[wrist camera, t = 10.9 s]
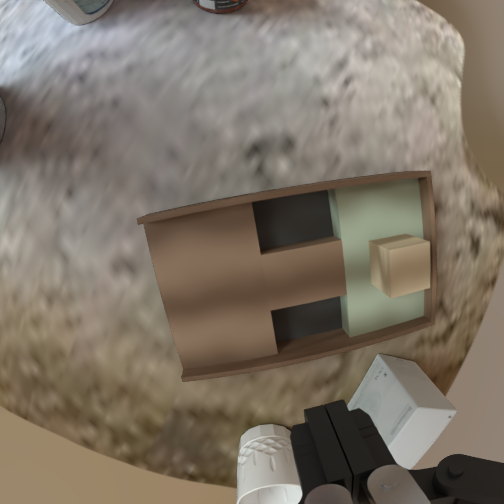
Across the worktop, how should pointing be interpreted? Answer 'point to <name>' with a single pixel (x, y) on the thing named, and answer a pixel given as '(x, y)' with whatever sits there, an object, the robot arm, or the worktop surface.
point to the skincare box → (403, 407)
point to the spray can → (80, 9)
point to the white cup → (267, 467)
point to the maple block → (400, 264)
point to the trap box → (288, 272)
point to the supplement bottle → (220, 5)
